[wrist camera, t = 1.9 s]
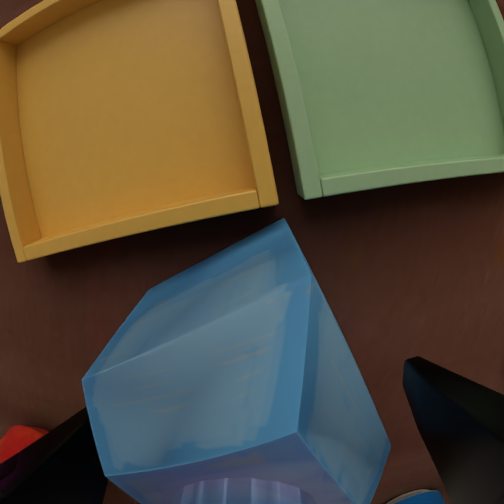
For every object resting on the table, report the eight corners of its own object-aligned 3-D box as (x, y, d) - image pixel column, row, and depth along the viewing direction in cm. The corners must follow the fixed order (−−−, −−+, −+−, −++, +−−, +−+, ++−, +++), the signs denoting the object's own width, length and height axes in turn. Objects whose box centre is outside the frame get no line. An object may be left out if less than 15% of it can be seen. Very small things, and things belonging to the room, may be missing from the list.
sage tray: (454, -33, 8) (472, -47, 6) (509, 165, 11) (535, 169, 9) (242, -45, 9) (240, -69, 7) (297, 194, 12) (304, 200, 10)
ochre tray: (223, -41, 9) (218, -66, 7) (275, 197, 12) (279, 204, 10) (12, 44, 10) (-11, 36, 8) (41, 251, 12) (17, 263, 11)
